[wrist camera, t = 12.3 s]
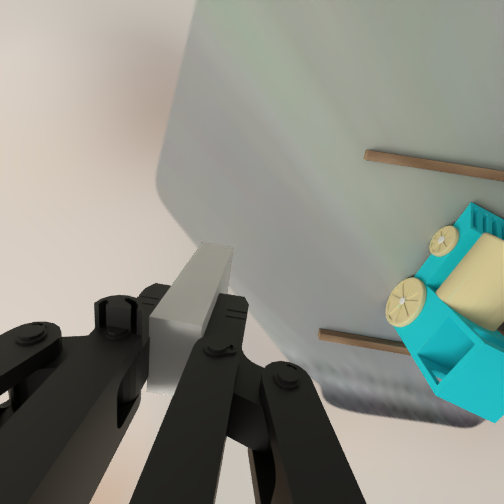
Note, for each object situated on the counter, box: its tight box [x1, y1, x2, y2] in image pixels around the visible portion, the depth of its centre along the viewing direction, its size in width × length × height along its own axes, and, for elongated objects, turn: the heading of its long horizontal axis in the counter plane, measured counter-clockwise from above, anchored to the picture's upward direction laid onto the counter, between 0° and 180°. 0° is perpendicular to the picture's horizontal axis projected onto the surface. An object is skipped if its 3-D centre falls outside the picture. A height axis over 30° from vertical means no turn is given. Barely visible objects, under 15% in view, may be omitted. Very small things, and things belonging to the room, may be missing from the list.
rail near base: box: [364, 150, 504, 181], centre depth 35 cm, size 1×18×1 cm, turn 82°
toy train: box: [386, 202, 504, 423], centre depth 33 cm, size 8×17×15 cm, turn 154°
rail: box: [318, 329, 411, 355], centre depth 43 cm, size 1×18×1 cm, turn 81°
